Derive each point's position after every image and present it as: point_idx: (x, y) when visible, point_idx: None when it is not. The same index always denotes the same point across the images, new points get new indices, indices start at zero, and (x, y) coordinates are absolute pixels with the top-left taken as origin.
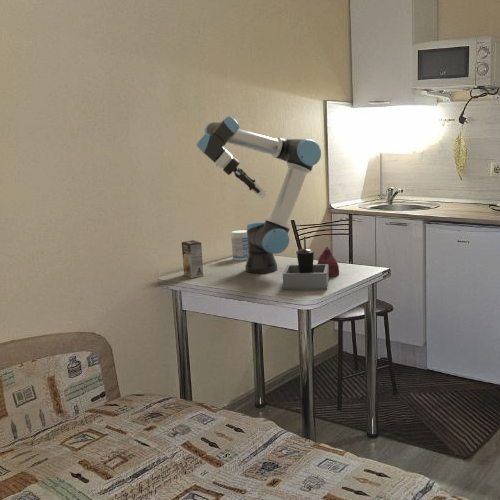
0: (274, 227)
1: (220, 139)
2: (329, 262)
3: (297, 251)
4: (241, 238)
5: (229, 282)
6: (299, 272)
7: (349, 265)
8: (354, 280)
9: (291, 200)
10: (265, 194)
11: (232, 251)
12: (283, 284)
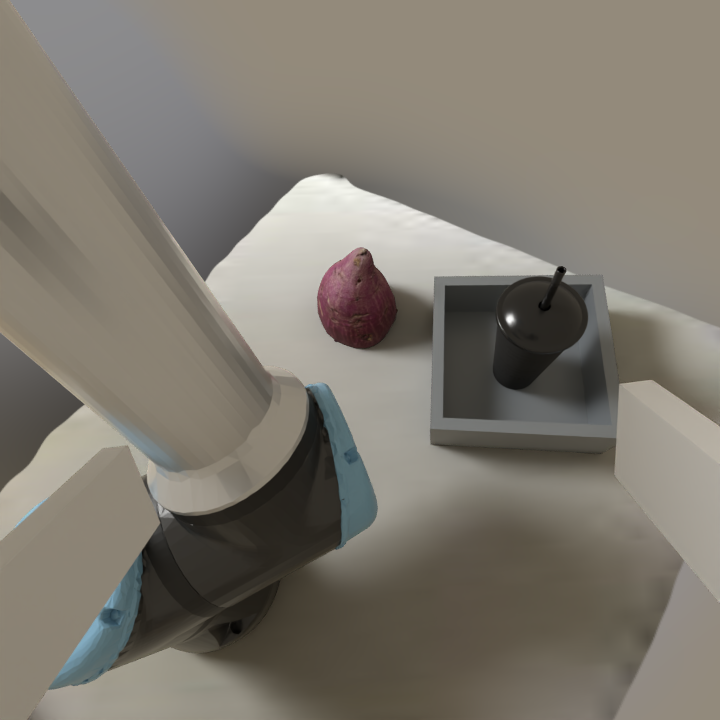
0: (317, 449)
1: None
2: (383, 278)
3: (548, 345)
4: None
5: None
6: (527, 378)
7: (236, 258)
8: (449, 239)
9: (175, 242)
10: (670, 404)
11: None
12: (609, 447)
